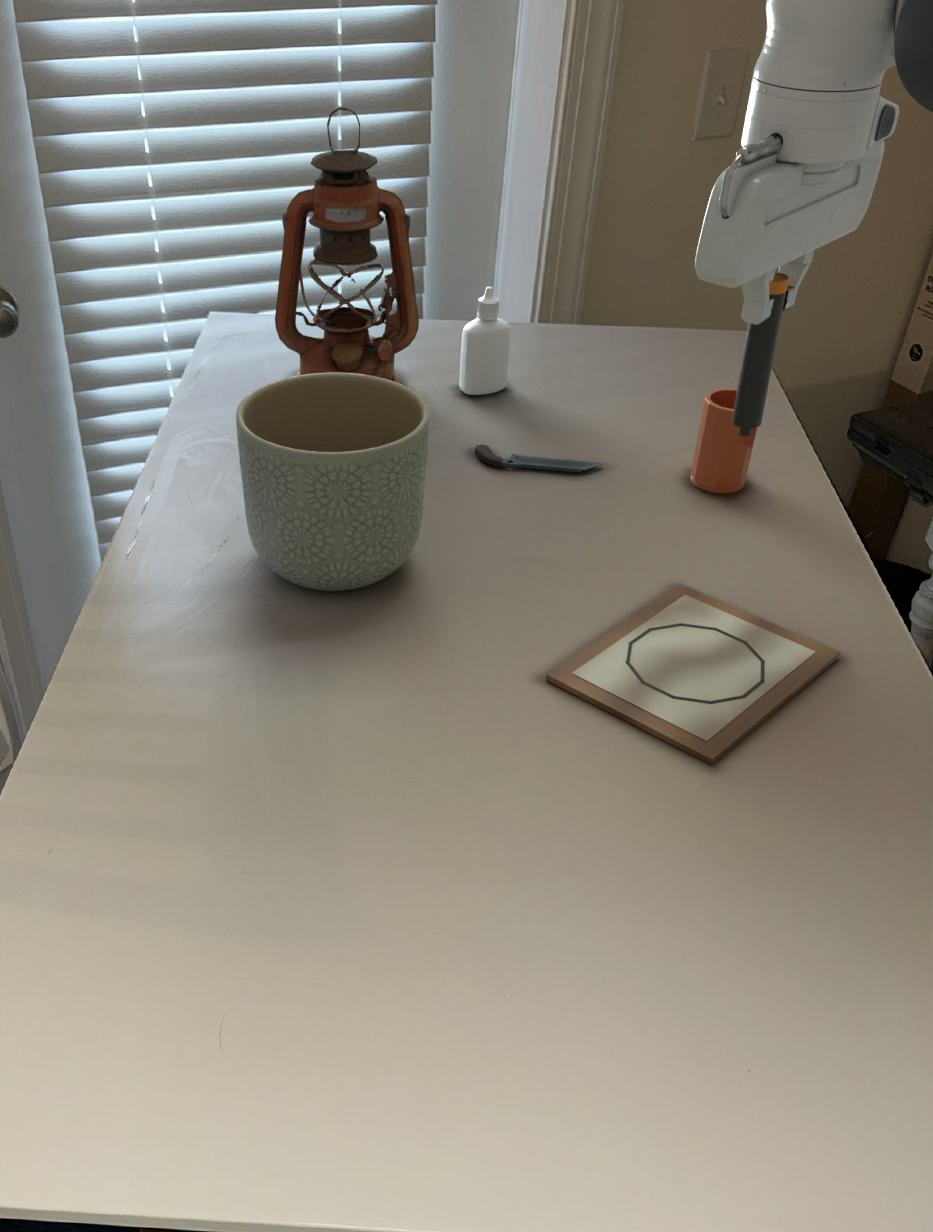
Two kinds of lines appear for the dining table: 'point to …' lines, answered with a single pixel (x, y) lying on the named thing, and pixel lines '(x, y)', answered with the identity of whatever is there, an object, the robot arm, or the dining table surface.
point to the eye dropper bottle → (485, 349)
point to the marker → (758, 362)
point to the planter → (333, 476)
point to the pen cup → (721, 446)
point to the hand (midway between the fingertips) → (767, 314)
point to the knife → (534, 461)
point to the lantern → (345, 220)
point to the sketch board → (694, 671)
